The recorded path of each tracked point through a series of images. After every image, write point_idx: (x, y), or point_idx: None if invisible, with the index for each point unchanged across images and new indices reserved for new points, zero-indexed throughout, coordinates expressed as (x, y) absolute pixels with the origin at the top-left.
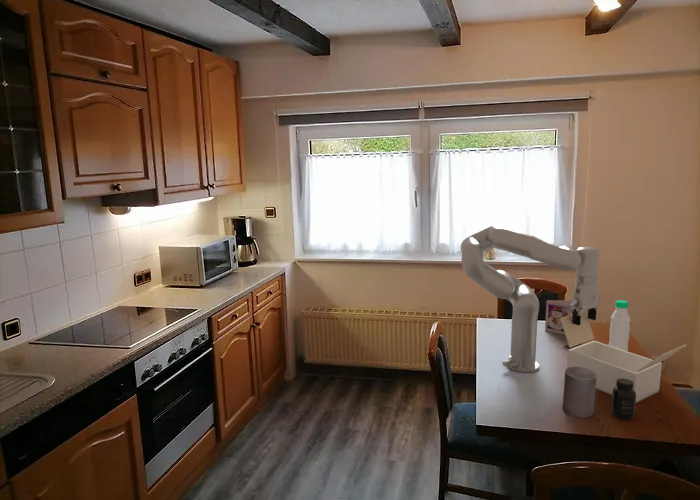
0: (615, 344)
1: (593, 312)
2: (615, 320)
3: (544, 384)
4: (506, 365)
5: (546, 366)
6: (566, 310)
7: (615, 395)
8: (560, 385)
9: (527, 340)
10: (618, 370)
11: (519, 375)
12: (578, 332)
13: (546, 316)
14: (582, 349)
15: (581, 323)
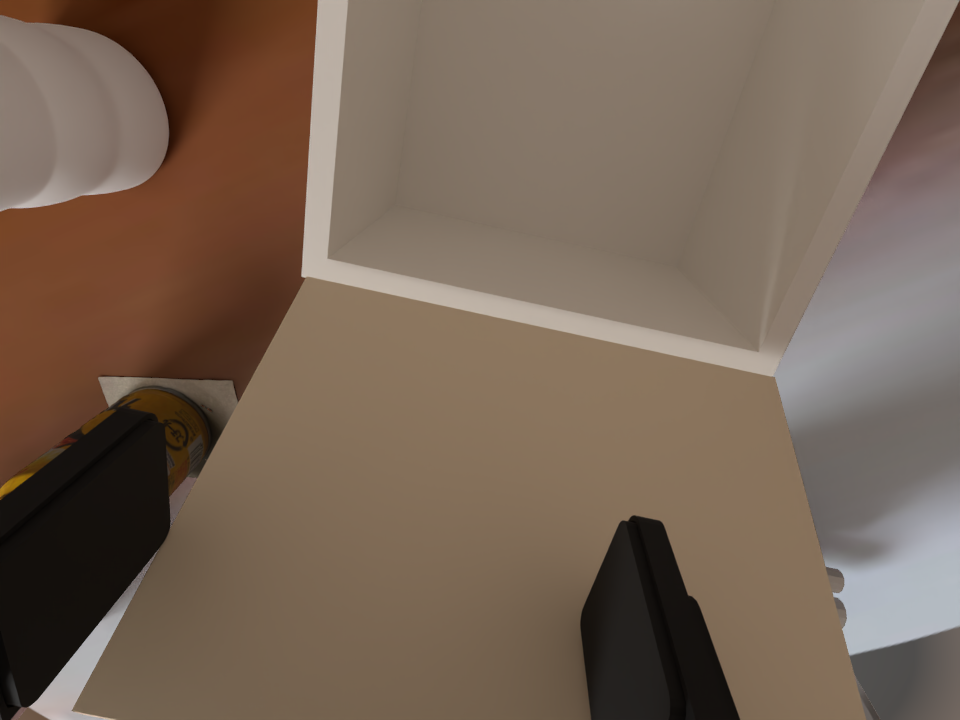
0: (44, 117)
1: (41, 563)
2: None
3: (900, 343)
4: (835, 598)
5: None
6: None
7: None
8: (863, 256)
9: (868, 702)
10: None
11: (833, 499)
12: (548, 445)
13: (19, 711)
14: (555, 293)
15: (395, 523)
